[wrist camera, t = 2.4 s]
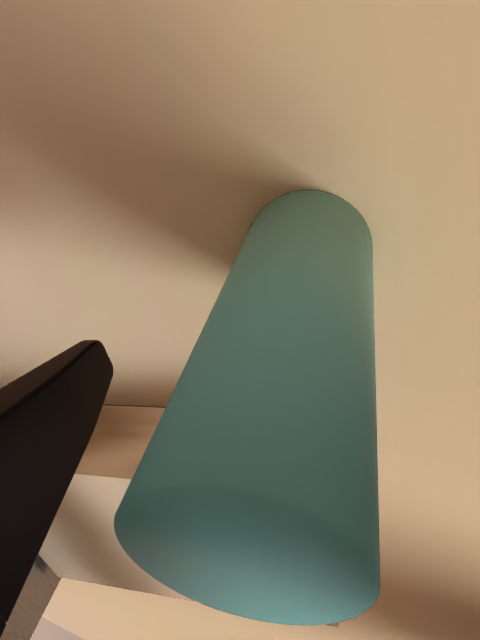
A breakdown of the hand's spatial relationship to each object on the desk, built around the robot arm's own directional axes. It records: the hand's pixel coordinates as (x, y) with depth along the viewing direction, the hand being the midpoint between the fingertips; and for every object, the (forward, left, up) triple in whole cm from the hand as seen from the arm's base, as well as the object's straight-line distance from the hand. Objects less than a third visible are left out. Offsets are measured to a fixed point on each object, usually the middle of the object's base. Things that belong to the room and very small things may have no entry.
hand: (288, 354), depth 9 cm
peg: (0, 0, -5) cm, 5 cm away
